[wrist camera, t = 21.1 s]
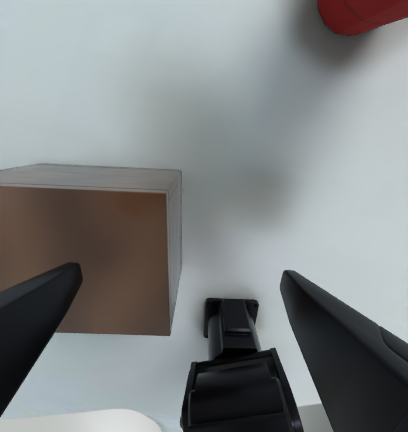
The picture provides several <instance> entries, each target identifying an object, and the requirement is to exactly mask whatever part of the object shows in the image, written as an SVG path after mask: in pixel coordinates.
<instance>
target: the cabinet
mask: <svg viewBox="0 0 408 432" xmlns="http://www.w3.org/2000/svg"><path fill="white" fill-rule="evenodd" d="M181 240H182V170H170V169H148V168H125V167H103V166H81V165H58V164H35V165H28V166H22V167H16V168H10V169H4V170H0V292H1V291H3V290H5V289H7V288H10V287H12V286H14V285H17V284H19V283H21V282H24V281H26V280H28V279H31V278H33V277H35V276H38V275H40V274H42V273H44V272H47V271H49V270H51V269H54V268H56V267H58V266H61V265H63V264H65V263H68V262H77V263H79V264H80V267H81V271H82V276H83V282H82V284H81V286H80V288H79V290H78V292H77V294H76V296H75V298H74V300H73V302H72V304H71V306H70V308H69V310H68V312H67V313H66V315H65V317H64V319H63V320H62V322H61V323H60V325H59V327H58V328H57V330H56V331H55V332H58V333H90V334H123V335H156V336H170V334H171V327H172V322H173V316H174V310H175V304H176V298H177V292H178V286H179V280H180V274H181Z"/></svg>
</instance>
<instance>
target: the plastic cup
mask: <svg viewBox="0 0 408 432" xmlns="http://www.w3.org/2000/svg"><path fill="white" fill-rule="evenodd" d="M318 9H319V12H320V14H321V16H322V19H323V21H324V23H325V25H327V26H328V27H329V28H330V29H331V30H332V31H334V32H335V33H337V34H343V35H349V36H350V35H357V34H360V33H363V32H366V31H369V30H372V29H375V28H377V27H380V26H382V25H385V24H388V23H391V22H394V21H398V20H401V19H404V18H407V17H408V0H318Z"/></svg>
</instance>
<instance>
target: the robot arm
mask: <svg viewBox="0 0 408 432" xmlns="http://www.w3.org/2000/svg"><path fill="white" fill-rule="evenodd" d="M82 282H83V276H82V271H81V267H80V264H79V263H77V262H68V263H65V264H63V265H61V266H58V267H56V268H54V269H51V270H49V271H47V272H44V273H42V274H40V275H38V276H35V277H33V278H31V279H28V280H26V281H24V282H21V283H19V284H17V285H14V286H12V287H10V288H7V289H5V290H3V291H1V292H0V417H1V415H2V414H3V412H4V411H5V409H6V408H7V406H8V405H9V403H10V401H11V400H12V398H13V397H14V395H15V394H16V392H17V391H18V389H19V387H20V386H21V384H22V383H23V381H24V380H25V378H26V377H27V375H28V373H29V372H30V370H31V369H32V367H33V366H34V364H35V362H36V361H37V359H38V358H39V356H40V355H41V353H42V352H43V350H44V348H45V347H46V345H47V344H48V342H49V341H50V339H51V338H52V336H53V334H54V333H55V331H56V330H57V328H58V327H59V325H60V323H61V322H62V320H63V319H64V317H65V315H66V313H67V312H68V310H69V308H70V306H71V304H72V302H73V300H74V298H75V296H76V294H77V292H78V290H79V288H80V286H81V284H82ZM280 291H281V294H282V298H283V301H284V305H285V308H286V312H287V315H288V319H289V322H290V325H291V327H292V330H293V332H294V335H295V337H296V340H297V342H298V345H299V347H300V350H301V352H302V355H303V357H304V360H305V362H306V364H307V367H308V369H309V372H310V374H311V377H312V379H313V382H314V384H315V387H316V389H317V392H318V394H319V397H320V399H321V401H322V404H323V406H324V409H325V411H326V414H327V416H328V419H329V421H330V424H331V426H332V429H333V431H334V432H408V343H406V342H405V341H403V340H401V339H400V338H398V337H397V336H395V335H393V334H392V333H390V332H389V331H387V330H386V329H384V328H383V327H381V326H378V324H376V323H375V322H373V321H372V320H370V319H368V318H367V317H365V316H364V315H362V314H361V313H359V312H358V311H356V310H354V309H353V308H351V307H350V306H348V305H347V304H345V303H344V302H342V301H340V300H339V299H337V298H336V297H334V296H333V295H331V294H330V293H328V292H326V291H325V290H323V289H322V288H320V287H319V286H317V285H316V284H314V283H312V282H311V281H309V280H308V279H306V278H305V277H303V276H302V275H300V274H298V273H297V272H295V271H293V270H285V271H284V272H283V274H282V279H281V283H280ZM209 302H211V303H209ZM253 304H254V305H253ZM258 306H259V304H258V302H257V301H256V300H245V299H215V298H209V299H207V300H206V306H205V322H204V337H205V338H208V346H209V360H208V361H202V362H197V361H196V362H192V363H191V368H190V371H189V375H188V380H187V385H186V390H185V395H184V400H183V405H182V415H181V417H180V426H181V428H182V429H183V432H304V430H303V427H302V423H301V419H300V416H299V412H298V409H297V406H296V403H295V400H294V397H293V394H292V391H291V388H290V385H289V382H288V380H287V377H286V375H285V372H284V369H283V367H282V364H281V362H280V359H279V356H278V354H277V351H276V349H275V348H270V350H265V351H261V348H260V344H259V340H258V336H257V333H256V329H255V322H256V317H257V311H258Z"/></svg>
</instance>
